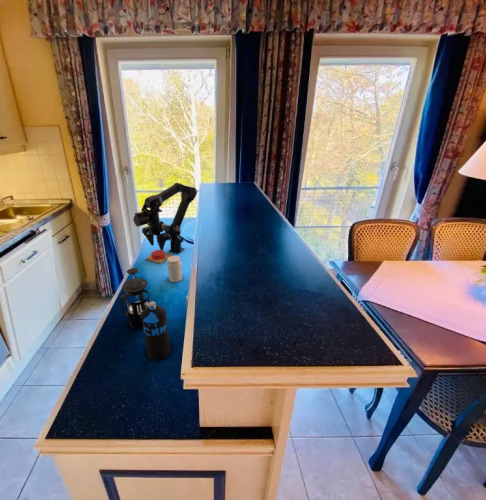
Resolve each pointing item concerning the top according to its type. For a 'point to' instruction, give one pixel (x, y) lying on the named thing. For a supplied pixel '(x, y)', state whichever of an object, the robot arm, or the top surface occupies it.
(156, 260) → the cork mat
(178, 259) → the jar
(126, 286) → the french press
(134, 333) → the top surface
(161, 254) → the lid
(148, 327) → the aerosol can
